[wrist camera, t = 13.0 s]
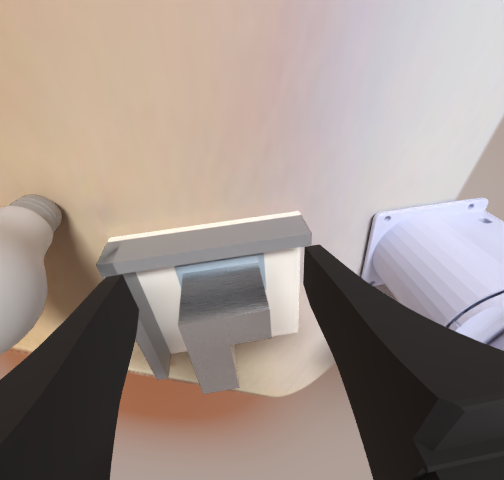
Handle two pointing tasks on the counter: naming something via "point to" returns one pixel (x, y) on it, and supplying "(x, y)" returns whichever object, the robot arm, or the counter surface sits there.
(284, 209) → the counter surface
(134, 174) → the counter surface
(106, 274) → the white tray
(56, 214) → the lightbulb
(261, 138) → the counter surface
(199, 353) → the bracket
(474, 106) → the counter surface
